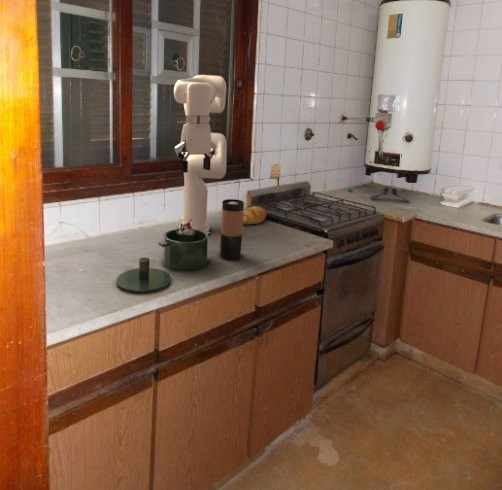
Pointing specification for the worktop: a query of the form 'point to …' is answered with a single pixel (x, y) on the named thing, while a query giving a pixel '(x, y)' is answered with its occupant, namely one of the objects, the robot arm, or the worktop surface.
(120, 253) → the worktop surface
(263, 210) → the bread loaf
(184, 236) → the sundae
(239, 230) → the travel mug
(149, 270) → the lid
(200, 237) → the pot
